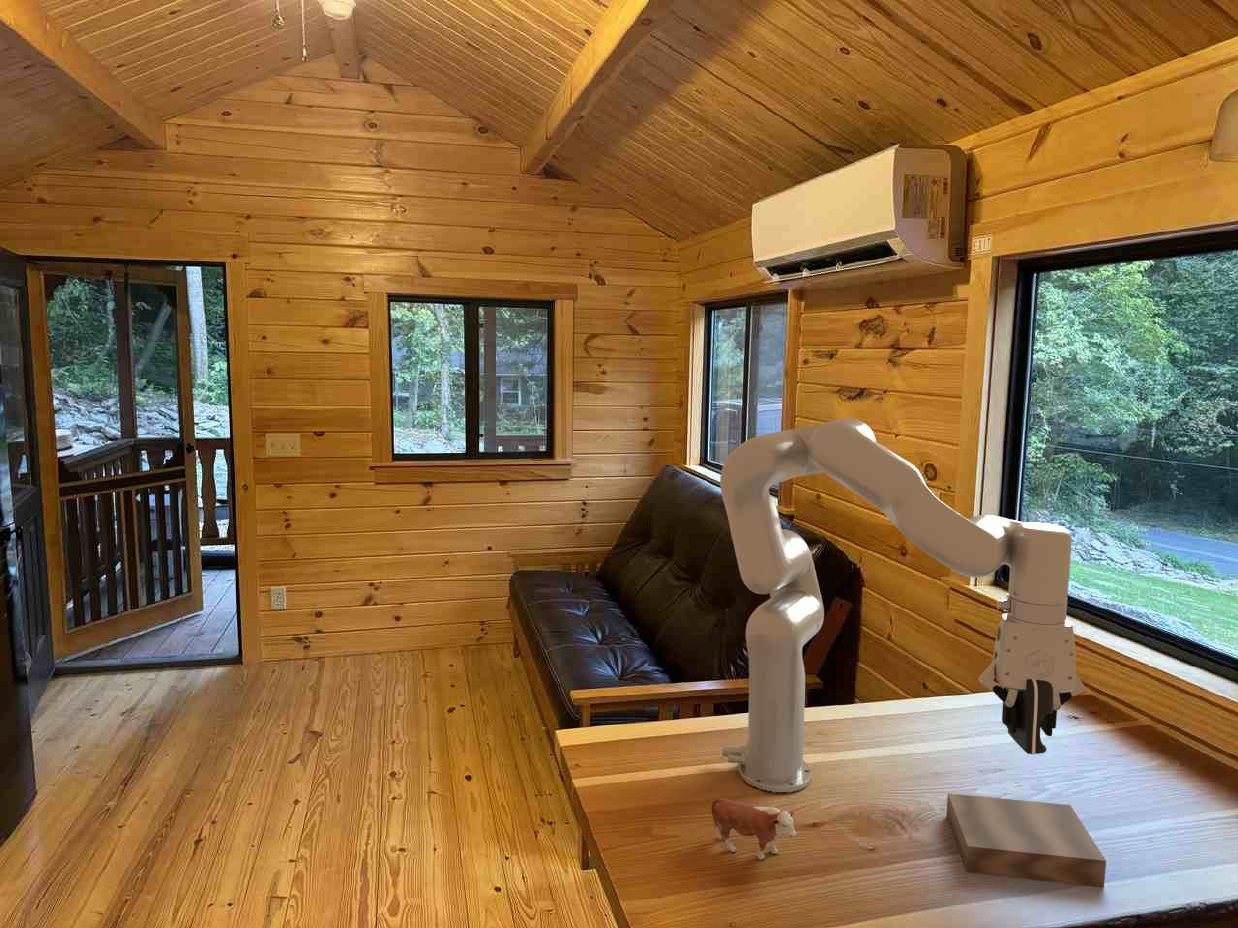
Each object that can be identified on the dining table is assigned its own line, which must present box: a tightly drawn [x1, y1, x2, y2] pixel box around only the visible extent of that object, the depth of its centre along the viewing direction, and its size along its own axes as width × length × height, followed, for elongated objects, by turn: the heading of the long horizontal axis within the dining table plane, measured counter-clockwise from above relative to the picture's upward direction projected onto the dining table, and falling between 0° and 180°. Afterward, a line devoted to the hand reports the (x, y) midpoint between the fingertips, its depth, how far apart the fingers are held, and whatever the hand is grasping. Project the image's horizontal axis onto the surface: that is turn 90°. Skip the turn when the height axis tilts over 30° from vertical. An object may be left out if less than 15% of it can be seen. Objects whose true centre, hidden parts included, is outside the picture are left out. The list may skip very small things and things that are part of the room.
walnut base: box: [945, 793, 1107, 888], centre depth 121 cm, size 18×14×4 cm
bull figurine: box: [710, 797, 797, 860], centre depth 120 cm, size 4×13×8 cm, turn 58°
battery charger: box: [1007, 679, 1053, 755], centre depth 117 cm, size 7×4×11 cm, turn 178°
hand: (1028, 729), depth 118 cm, fingers closed on battery charger, 4 cm apart
